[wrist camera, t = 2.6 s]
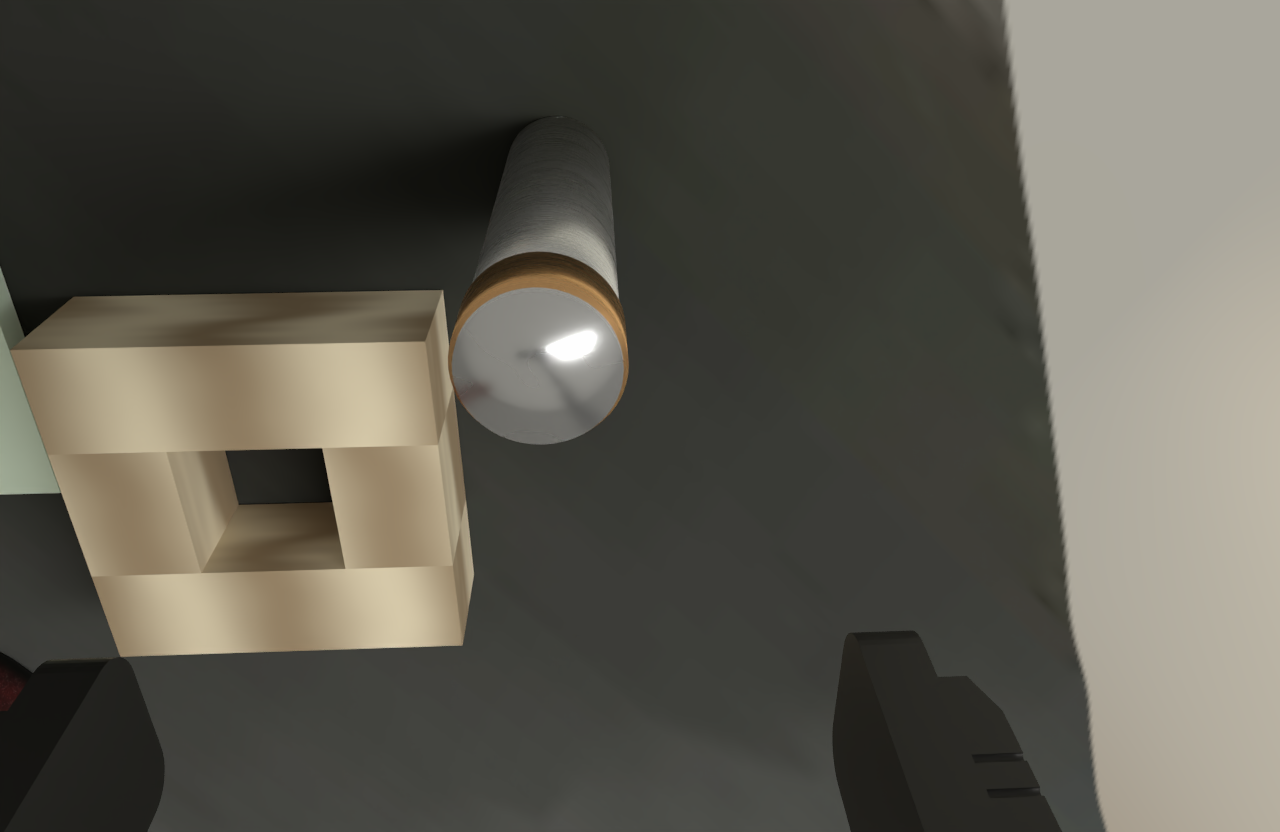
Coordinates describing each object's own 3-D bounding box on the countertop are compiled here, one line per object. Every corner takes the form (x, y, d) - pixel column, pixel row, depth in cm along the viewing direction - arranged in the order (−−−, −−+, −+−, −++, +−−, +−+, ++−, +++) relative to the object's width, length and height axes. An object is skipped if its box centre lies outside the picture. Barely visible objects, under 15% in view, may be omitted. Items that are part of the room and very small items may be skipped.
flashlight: (611, 112, 29) (628, 284, 17) (613, 220, 31) (629, 446, 19) (499, 113, 29) (437, 288, 17) (507, 221, 31) (455, 450, 19)
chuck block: (442, 289, 32) (425, 341, 28) (473, 574, 38) (462, 645, 34) (73, 296, 31) (9, 349, 28) (163, 583, 37) (120, 656, 34)
